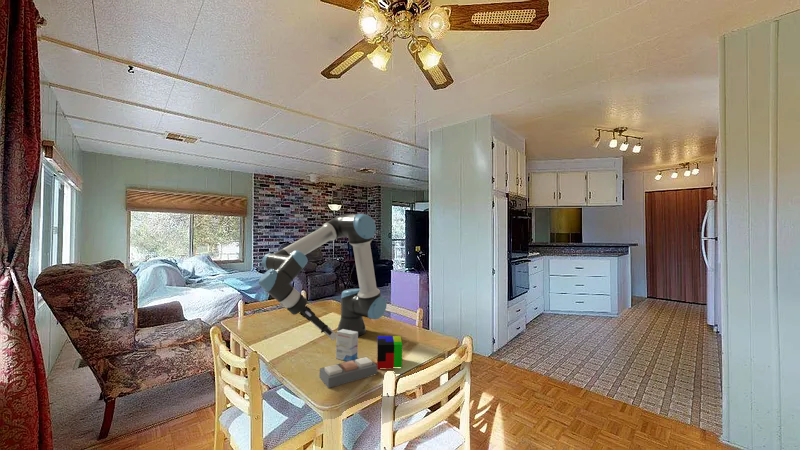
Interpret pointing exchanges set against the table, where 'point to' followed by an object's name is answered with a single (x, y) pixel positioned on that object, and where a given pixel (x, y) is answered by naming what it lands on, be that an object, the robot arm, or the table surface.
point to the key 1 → (332, 369)
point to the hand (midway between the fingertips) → (329, 332)
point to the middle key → (348, 365)
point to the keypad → (347, 375)
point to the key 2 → (363, 362)
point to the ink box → (346, 345)
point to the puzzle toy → (389, 352)
